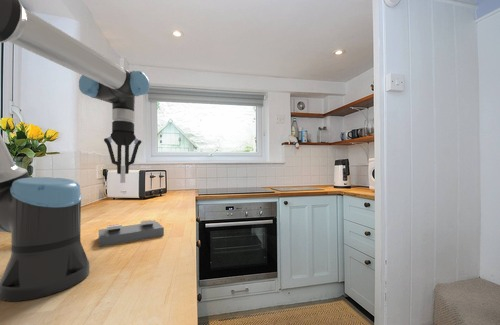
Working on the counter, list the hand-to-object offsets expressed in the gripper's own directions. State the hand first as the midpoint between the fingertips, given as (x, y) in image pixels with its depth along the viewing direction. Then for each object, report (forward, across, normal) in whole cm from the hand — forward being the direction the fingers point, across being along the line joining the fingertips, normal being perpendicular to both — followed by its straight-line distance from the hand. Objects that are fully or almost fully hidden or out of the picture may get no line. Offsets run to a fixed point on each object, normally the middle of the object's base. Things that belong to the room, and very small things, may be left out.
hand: (122, 182), depth 87 cm
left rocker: (+15, +3, +6) cm, 17 cm away
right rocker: (+15, -8, +6) cm, 18 cm away
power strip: (+20, -3, +6) cm, 21 cm away
